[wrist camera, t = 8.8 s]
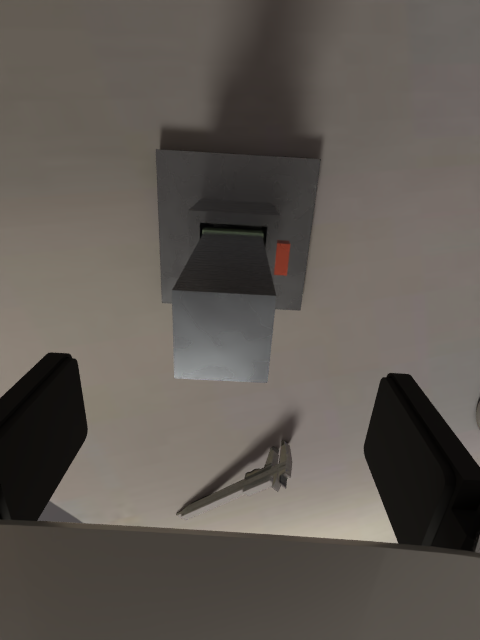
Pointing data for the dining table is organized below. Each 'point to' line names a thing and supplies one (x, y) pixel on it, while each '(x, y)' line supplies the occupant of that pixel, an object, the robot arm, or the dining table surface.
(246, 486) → the caliper
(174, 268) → the base
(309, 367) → the dining table surface
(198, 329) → the block
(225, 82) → the dining table surface
